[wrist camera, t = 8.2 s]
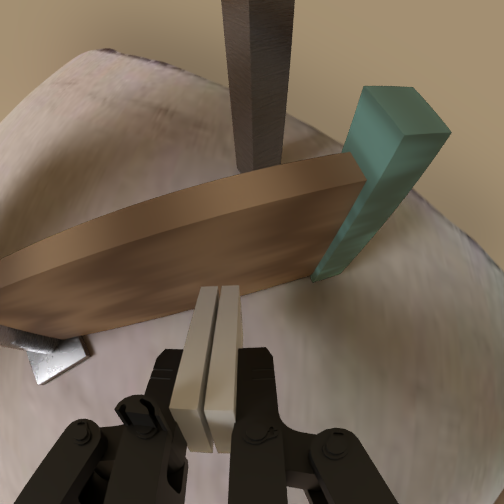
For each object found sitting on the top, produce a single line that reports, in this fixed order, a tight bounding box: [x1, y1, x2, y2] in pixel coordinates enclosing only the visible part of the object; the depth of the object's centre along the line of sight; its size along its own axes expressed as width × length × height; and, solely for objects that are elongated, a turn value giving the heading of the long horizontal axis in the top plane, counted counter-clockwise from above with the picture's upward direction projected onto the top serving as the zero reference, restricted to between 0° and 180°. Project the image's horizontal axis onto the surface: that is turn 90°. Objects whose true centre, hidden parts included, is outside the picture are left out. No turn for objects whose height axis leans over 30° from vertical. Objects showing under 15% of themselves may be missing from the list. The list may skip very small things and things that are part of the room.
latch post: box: [221, 0, 295, 173], centre depth 14 cm, size 2×2×16 cm
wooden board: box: [0, 86, 451, 339], centre depth 11 cm, size 20×2×13 cm, turn 106°
